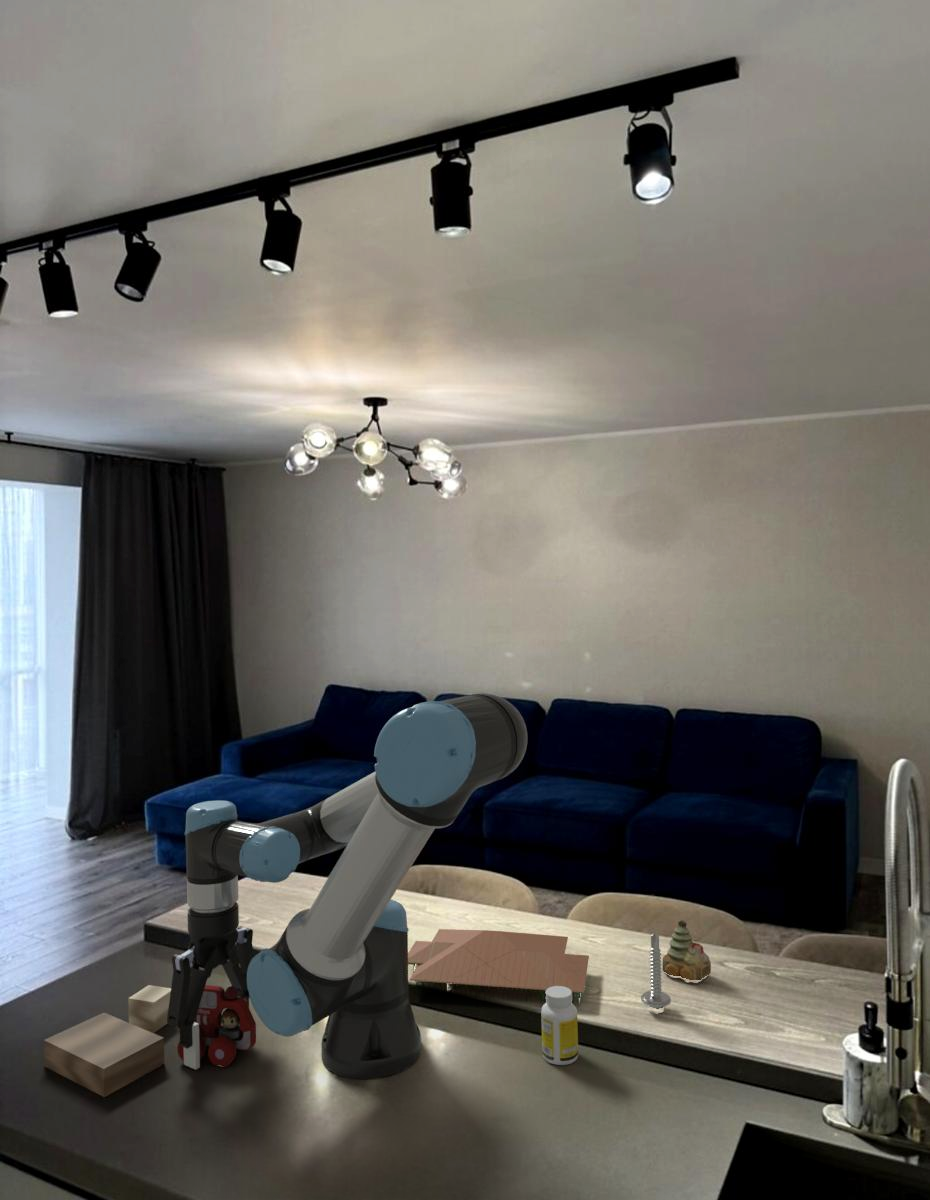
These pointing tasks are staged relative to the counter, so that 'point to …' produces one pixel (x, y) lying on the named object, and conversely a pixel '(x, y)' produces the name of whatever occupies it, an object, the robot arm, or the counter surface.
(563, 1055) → the supplement bottle
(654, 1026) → the counter surface
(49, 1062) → the plinth
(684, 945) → the ornament
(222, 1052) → the toy fire truck
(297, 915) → the robot arm
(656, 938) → the screw
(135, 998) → the birch block
